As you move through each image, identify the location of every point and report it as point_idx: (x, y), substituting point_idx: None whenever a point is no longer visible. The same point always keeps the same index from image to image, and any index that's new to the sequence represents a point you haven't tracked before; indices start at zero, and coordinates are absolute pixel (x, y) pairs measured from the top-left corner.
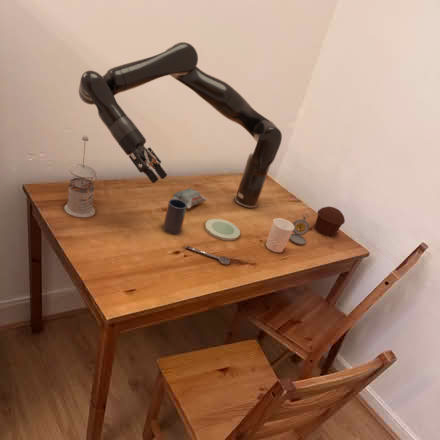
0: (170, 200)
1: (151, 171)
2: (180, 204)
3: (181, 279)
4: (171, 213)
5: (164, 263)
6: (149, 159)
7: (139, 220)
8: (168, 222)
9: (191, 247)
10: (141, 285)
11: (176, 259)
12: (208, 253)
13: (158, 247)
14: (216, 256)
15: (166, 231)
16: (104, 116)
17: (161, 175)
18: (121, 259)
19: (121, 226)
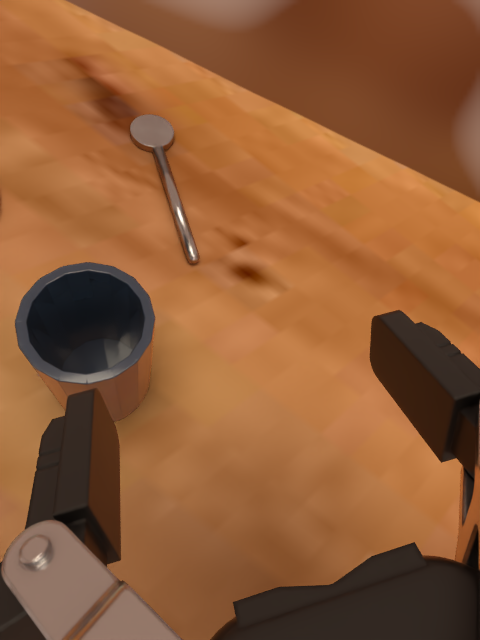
0: (89, 376)
1: (463, 378)
2: (32, 334)
3: (355, 200)
4: (153, 339)
5: (340, 273)
6: (352, 601)
7: (168, 547)
8: (150, 367)
9: (188, 237)
10: (475, 268)
11: (285, 255)
12: (169, 178)
13: (281, 339)
14: (162, 152)
15: (149, 382)
16: None
17: (112, 449)
18: None
19: (296, 563)
